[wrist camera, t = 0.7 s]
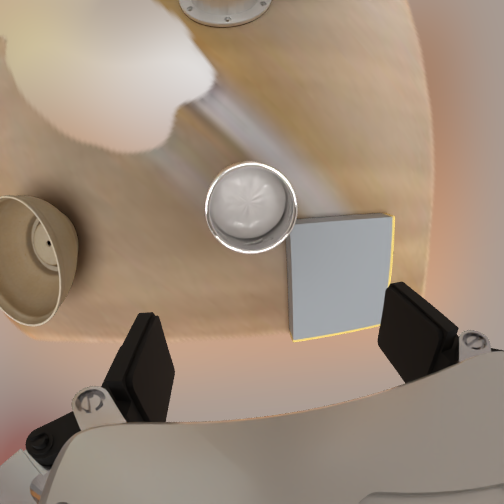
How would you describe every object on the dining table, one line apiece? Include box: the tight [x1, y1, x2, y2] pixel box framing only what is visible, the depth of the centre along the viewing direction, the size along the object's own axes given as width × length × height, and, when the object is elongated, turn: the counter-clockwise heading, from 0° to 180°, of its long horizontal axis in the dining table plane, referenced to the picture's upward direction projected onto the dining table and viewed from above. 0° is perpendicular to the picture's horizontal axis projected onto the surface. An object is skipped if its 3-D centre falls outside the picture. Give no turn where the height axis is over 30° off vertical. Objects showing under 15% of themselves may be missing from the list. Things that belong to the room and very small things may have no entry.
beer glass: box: [205, 161, 298, 254], centre depth 26 cm, size 7×7×15 cm
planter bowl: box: [0, 195, 78, 326], centre depth 28 cm, size 16×16×11 cm
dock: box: [286, 213, 395, 342], centre depth 36 cm, size 17×15×3 cm
